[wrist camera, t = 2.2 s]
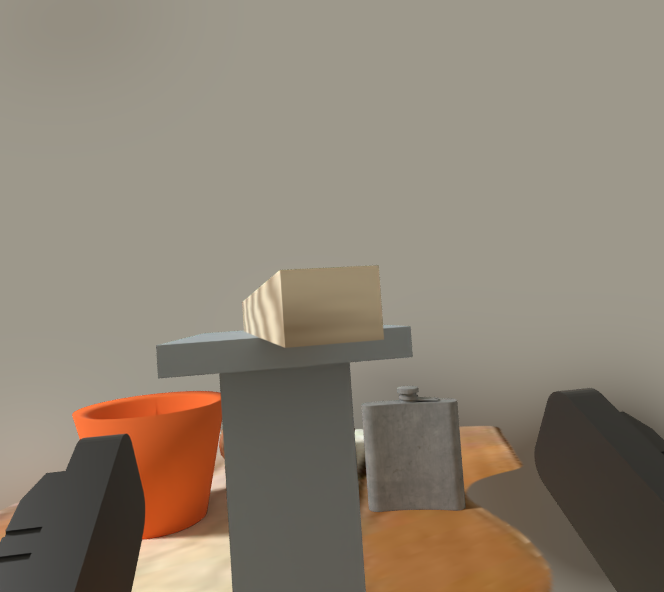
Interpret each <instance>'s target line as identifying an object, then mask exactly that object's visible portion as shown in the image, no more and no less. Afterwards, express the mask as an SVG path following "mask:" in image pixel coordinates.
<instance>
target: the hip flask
mask: <svg viewBox="0 0 664 592" xmlns="http://www.w3.org/2000/svg"><path fill="white" fill-rule="evenodd" d="M417 392H418V387H417V386H402V387H398V388H397V393H400V395H399V399H400V400H396V401H382V402H368V403H363V404H362V418H363V432H364V446H365V459H366V473H367V487H368V501H369V510H371V511H373V512H383V511H395V510H422V509H431V510H463V509H464V508H465V495H464V482H463V469H462V457H461V444H460V431H459V418H458V406H457V400H456V399H438V398H431V397H418V395H416V393H417Z"/></svg>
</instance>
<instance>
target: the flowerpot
mask: <svg viewBox="0 0 664 592" xmlns="http://www.w3.org/2000/svg"><path fill="white" fill-rule="evenodd" d="M72 416H73V419H74V422H75V425H76V429H77V432H78V435H79V438H80V439H82V438H87V437H97V436H107V435H117V434H128V435H129V436H130V438H131V441H132V445H133V449H134V453H135V458H136V462H137V466H138V470H139V474H140V479H141V483H142V487H143V491H144V497H145V525H144V532H143V537H142V539H150V538H156V537H161V536H165V535H169V534H173V533H176V532H179V531H181V530H184V529H186V528H189V527H190V526H192V525H194V524H196V523H197V522H199V521H200V520H201V519H202V518H204V517H205V515H206V513H207V508H208V502H209V496H210V490H211V484H212V478H213V472H214V466H215V460H216V453H217V447H218V441H219V435H220V428H221V422H222V407H221V393H219V392H212V391H186V392H171V393H170V392H169V393H159V394H150V395H142V396H135V397H129V398H122V399H117V400H112V401H107V402H102V403H98V404H94V405H91V406H87V407H84V408H81V409H79V410H77V411H75V412H74V413H73V414H72Z"/></svg>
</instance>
